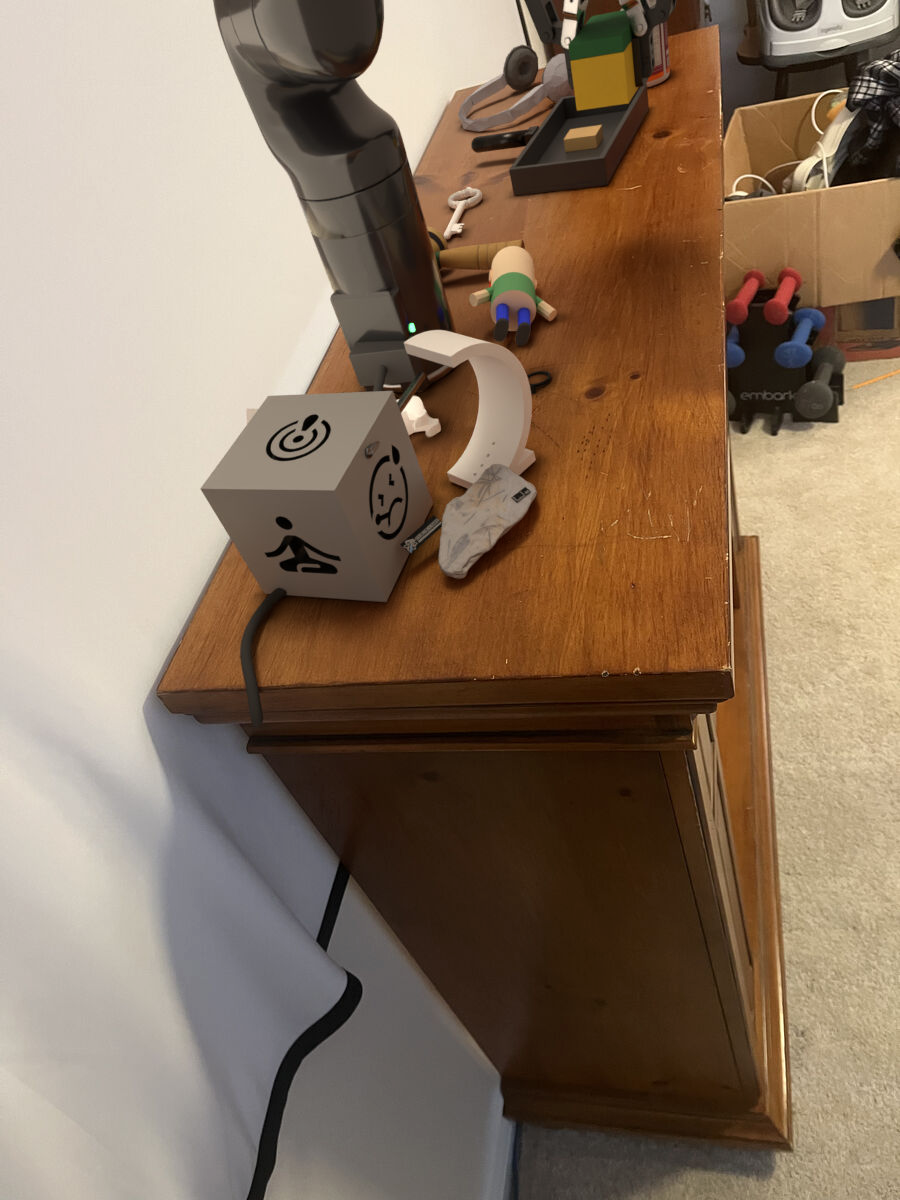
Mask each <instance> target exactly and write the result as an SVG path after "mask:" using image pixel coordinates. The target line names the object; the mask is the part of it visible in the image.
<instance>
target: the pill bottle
mask: <svg viewBox="0 0 900 1200" xmlns="http://www.w3.org/2000/svg"><path fill="white" fill-rule="evenodd" d="M649 3H650V5H651V6H653V5H654V4H656V0H649ZM622 10H624V9H622V8H621V9H620V10H619V11H622ZM653 40H654V54H655V67H654V71H653V73H652V74H651V76H650V78H648V81H647V83H646V84H647V89H648V88H651V87H653V86H657V85H658V84H661V83H663V82H665V81H666V80H667V79H668V78H669V76H670V74H671V65H670V63H671V62H670V49H669V31H668V20H667V21H666V22H664V23H662V24H658V25H657V26H655V27H654V28H653Z"/></svg>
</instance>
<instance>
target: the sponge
mask: <svg viewBox="0 0 900 1200" xmlns="http://www.w3.org/2000/svg"><path fill="white" fill-rule="evenodd" d="M633 36H634V33H633V30H632V28H631V25H630V23H629V20H628V17H627V15H626V12H625V10H622V11H620V10H618V11H611V12H607V13H602V14H596V15H592V16H591V17H590V18H589V19H588V20H587V21H586V23H584V26H583V28H582V29H581V30H580V31H579V32H578V34H577V35H576V36H575V37H574V39H573V40H572V41H571V42H570V43H569V45H568V47H569V54H570V60H571V61H570V62H571V70H572V77H573V85H574V95H575V100H576V108H577V111H579V110H586V109H593V108H600V107H607V106H614V105H621V104H628V103H629V102H630V100H631V99H632V97H633V96H634V94H635V92H636V91H637V89H638V88H639V87H636V86H635V77H634V66H633V54H632V43H631V39H632V37H633Z"/></svg>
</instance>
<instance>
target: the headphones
mask: <svg viewBox="0 0 900 1200" xmlns="http://www.w3.org/2000/svg"><path fill="white" fill-rule="evenodd" d="M538 73H539V56H538V54H537V52H536V51H535V50H534V49H533V48H532V47H531V46H530V45H527V44H526V45H525V44H520V45H517V46H513V47H512V48H511V49H510V51H509V53H508V54H507V56H506V57H505V61H504V62H503V68H502V73H500V74H499V75H497V76H495V77H494V78H492V79H490V80H488V81H487V82H484V83H483V84H482V85H480V86H479V87H478V88H477V89H476V90H475V91H473V92H472V93H471V94H469V95H468V96H467V97H466V98H465V99H464V101H463V102H462V104H461V105H460V108H459V110H458V115H457V116H458V120H459V122H460V123H461V126H462V129H463V130H466V131H473V132H483V131H486V130H490V129H493V128H496V127H499V126H504V125H508V124H510V123H512V122H514V121H516V119H518V118H520V117H522V116H524V115H525V114H527V113H529V112H530V111H532V110H533V109H534V108H535V107H537V106H538V105H539V104H540V103H541V102H542V101H543V100H544V99H545V98H547V99H548V100H550V101H551V102H553V103H557V102H558V100H559V99H560V98H561V97H566V96H572V95H574V94H575V92H574V89H571V87H570V85H569V83H568V75H567V68H566V61H565V53H557V54H555V55H554V56H552V57H551V58H550V59H549V60H548V61H547V64H546V65H545V67H544V69H543V72H542V75H541V84H539V85H537V86H535V87H533V88H532V89H531V90H529V91H528V92H527V93H526V94H525V95H524V96H523V97H522V98H520V99H519V100H518V101H517V102H515V103H514V104H513V105H512V106H510V108H508V109H505V110H502V111H500V112H498V113H494V114H493V115H491V116H490V115H489V116H487V117H480V118H476V119H471V118H467V116H468V114H469V113H470V112H471V110H472V109H473V107H474V106H476V105H477V104H480V103H481V102H483V101H484V100H486V99H488V98H490V97H491V96H493V95H496V94H498V93H499V92H500V91H502V90H504V89H505V88H506V87H507V86H509V88H511V89H512V90H513V91H518V92H519V91H520V92H521V91H524V90H527V89H528V88H530V87H531V86H532V85H533V83H535V81H536V79H537V76H538Z"/></svg>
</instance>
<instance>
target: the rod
mask: <svg viewBox="0 0 900 1200" xmlns="http://www.w3.org/2000/svg"><path fill="white" fill-rule="evenodd" d="M425 377H426V374H425V373H424V372H422V371H420V372H419V373H418V374H417V375H416V377H415V378H414V380H413V381H412V382H411V384H410V385H409V387H408V388H407V389H406V391H405V392H403V393H402V395H401V396H400V397H399V398H398V399H399V401H398V402H397V404H398V407H399V409H400V412H401V413H402V412H403V410H404V409H405V407H406V406H407V404H408V403H409V401H410V400H411V398H412V397H413V396H415V394H416V393H417V392H416V391H417V389H418V388H419V386H420V385H421V383H422V382H423V380H424V379H425ZM379 445H380V442H379V441H376V442H373V443H371V444H370V445H369V446H367V447H366V448H365V456H366V458H368V459H369V458H371V457H372V456H373V455H374V453H375V452H376V450H377V449H378V447H379Z"/></svg>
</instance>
